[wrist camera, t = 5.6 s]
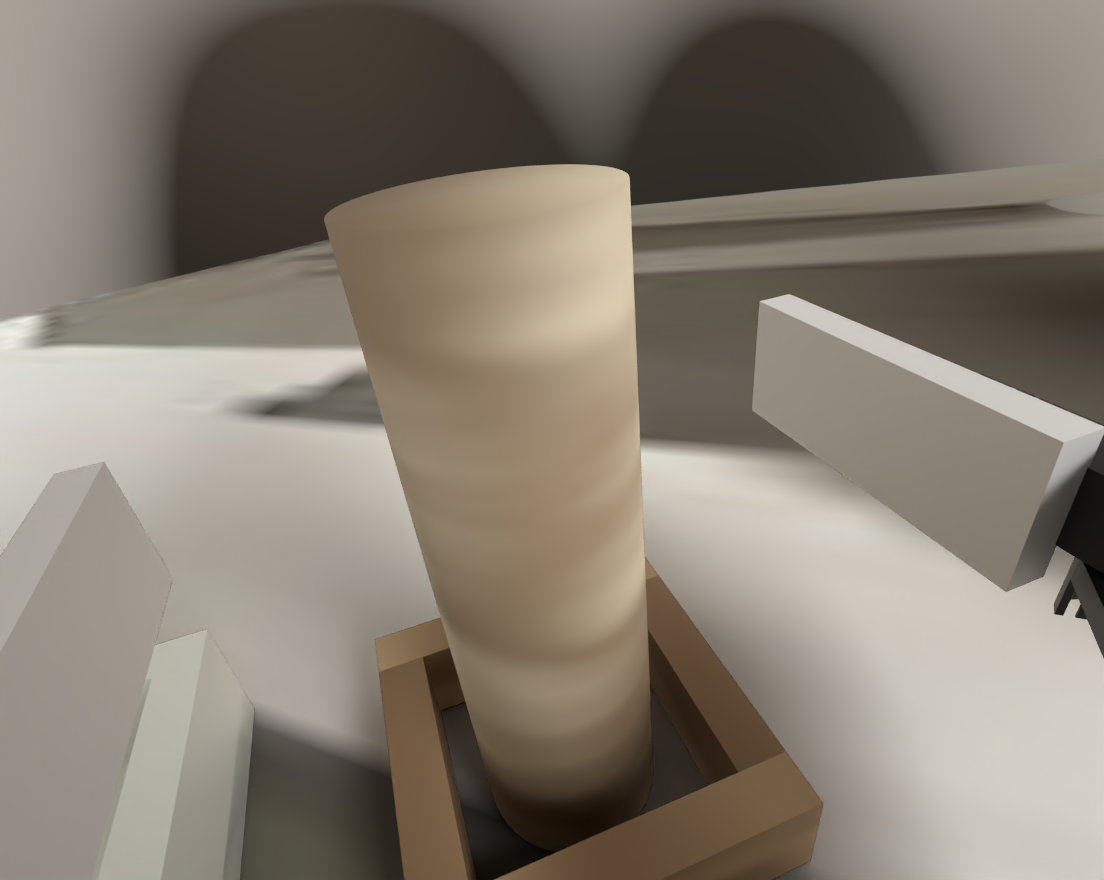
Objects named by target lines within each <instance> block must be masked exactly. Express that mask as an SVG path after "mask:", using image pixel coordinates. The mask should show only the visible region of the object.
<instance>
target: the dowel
mask: <svg viewBox="0 0 1104 880" xmlns="http://www.w3.org/2000/svg"><path fill="white" fill-rule="evenodd" d="M629 179H630V178H629V175H628V174H627V173H625V172H624V171H622V170H618V169H616V168H610V167H604V166H595V165H539V166H524V167H512V168H502V169H493V170H485V171H477V172H470V173H463V174H457V175H451V176H445V177H439V178H433V179H428V180H424V181H418V182H414V183H409V184H405V185H401V186H397V187H393V188H388V189H385V190H381V191H378V192H374V193H371V194H368V195H365V196H362V197H359V198H356V199H354V200H351V201H348V202H346V203H344V204H341V205H339V206H338V207H336V208H334V209H332V210H331V211H330V212H328V213H327V215H326V216H325V218H324V221H325V224H326V228H327V231H328V235H329V238H330V242H331V245H332V249H333V252H334V255H335V259H336V262H337V266H338V269H339V272H340V276H341V279H342V283H343V286H344V289H345V293H346V296H347V300H348V303H349V306H350V310H351V313H352V317H353V320H354V323H355V327H356V330H357V334H358V337H359V341H360V344H361V347H362V351H363V354H364V358H365V361H366V364H367V368H368V371H369V375H370V378H371V381H372V385H373V388H374V392H375V395H376V398H377V402H378V405H379V409H380V412H381V415H382V419H383V422H384V426H385V429H386V432H387V436H388V439H389V443H390V446H391V449H392V453H393V456H394V460H395V463H396V466H397V470H398V473H399V477H400V480H401V484H402V487H403V490H404V494H405V497H406V501H407V504H408V507H409V511H410V514H411V518H412V521H413V524H414V528H415V531H416V535H417V538H418V541H419V545H420V548H421V552H422V555H423V558H424V562H425V565H426V569H427V572H428V575H429V579H430V582H431V586H432V589H433V592H434V596H435V599H436V603H437V606H438V609H439V613H440V616H441V620H442V623H443V627H444V630H445V633H446V637H447V640H448V644H449V647H450V650H451V654H452V657H453V661H454V664H455V667H456V671H457V674H458V678H459V681H460V684H461V688H462V691H463V695H464V698H465V701H466V705H467V708H468V712H469V715H470V718H471V722H472V725H473V729H474V732H475V735H476V739H477V742H478V746H479V749H480V752H481V756H482V759H483V763H484V766H485V770H486V773H487V776H488V780H489V783H490V787H491V790H492V793H493V797H494V800H495V802H496V805H497V808H498V809H499V811H500V813H501V815H502V817H503V818H504V820H505V821H506V823H507V824H508V825H509V826H510V827H511V828H512V829H513V830H514V832H515V833H517V834H518V835H519V836H520V837H522V838H523V839H524V840H526V841H528V842H530V843H531V844H533V845H535V846H538V847H540V848H543V849H545V850H550V851H554V852H558V851H561V850H563V849H565V848H567V847H570V846H572V845H574V844H577V843H579V842H581V841H583V840H586V839H588V838H590V837H593V836H595V835H597V834H599V833H602V832H604V831H606V830H608V829H611V828H613V827H615V826H618V825H620V824H622V823H624V822H627V821H629V820H631V819H634V818H636V817H638V816H639V815H640V813H641V812H642V810H643V808H644V806H645V804H646V802H647V799H648V797H649V794H650V790H651V786H652V780H653V750H652V725H651V700H650V675H649V650H648V625H647V601H646V576H645V551H644V526H643V501H642V476H641V452H640V427H639V402H638V377H637V352H636V327H635V303H634V278H633V253H632V228H631V204H630V180H629Z"/></svg>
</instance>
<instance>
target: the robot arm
mask: <svg viewBox="0 0 1104 880" xmlns="http://www.w3.org/2000/svg"><path fill="white" fill-rule="evenodd" d="M752 410H753V411H754V412H756V413H757V414H758V415H760V416H761V417H762V418H764V419H765V420H767V421H768V422H769V423H771V424H772V425H774V426H775V427H776V428H778V429H779V430H781V431H782V432H783V433H785V434H786V435H788V436H789V437H790V438H792V439H793V440H795V441H796V442H797V443H799V444H800V445H802V446H803V447H804V448H806V449H807V450H809V451H810V452H811V453H813V454H814V455H816V456H817V457H818V458H820V459H821V460H823V461H824V462H825V463H827V464H828V465H830V466H831V467H832V468H834V469H835V470H837V471H838V472H839V473H841V474H842V475H844V476H845V477H846V478H848V479H849V480H851V481H852V482H853V483H855V484H856V485H858V486H859V487H860V488H862V489H863V490H864V491H866V492H867V493H869V494H870V495H871V496H873V497H874V498H876V499H877V500H878V501H880V502H881V503H883V504H884V505H885V506H887V507H888V508H890V509H891V510H892V511H894V512H895V513H897V514H898V515H899V516H901V517H902V518H904V519H905V520H906V521H908V522H909V523H911V524H912V525H913V526H915V527H916V528H918V529H919V530H920V531H922V532H923V533H925V534H926V535H927V536H929V537H930V538H932V539H933V540H934V541H936V542H937V543H939V544H940V545H941V546H943V547H944V548H946V549H947V550H948V551H950V552H951V553H953V554H954V555H955V556H957V557H958V558H960V559H961V560H962V561H964V562H965V563H967V564H968V565H969V566H971V567H972V568H973V569H975V570H976V571H978V572H979V573H980V574H982V575H983V576H985V577H986V578H987V579H989V580H990V581H992V582H993V583H994V584H996V585H997V586H999V587H1000V588H1001V589H1003V590H1004V591H1006V592H1007V591H1009V590H1012V589H1014V588H1017V587H1019V586H1022V585H1024V584H1026V583H1029V582H1031V581H1034V580H1036V579H1039V578H1041V577H1043V576H1044V574H1045V572H1046V569H1047V567H1048V564H1049V562H1050V560H1051V557H1052V555H1053V553H1054V550H1055V548H1056V546H1058V547H1060V548H1061V549H1063V550H1065V551H1066V552H1068V553H1070V554H1071V555H1073V556H1075V558H1074V561H1073V563H1072V565H1071V567H1070V569H1069V572H1068V574H1067V576H1066V578H1065V581H1064V583H1063V585H1062V587H1061V589H1060V592H1059V594H1058V596H1057V598H1056V601H1055V603H1054V614H1057V615H1064V612H1065V610H1066V608H1067V606H1068V604H1069V602H1070V600H1072V599H1079V601H1080V603H1081V605H1080V607H1079V609H1078V611H1077V613H1076V615H1075V617H1076V618H1081V619H1087V620H1088V622H1089V625H1090V627H1091V629H1092V632H1093V634H1094V636H1095V639H1096V641H1097V644H1098V646H1099V648H1100V651H1101V653H1102V655H1103V658H1104V425H1102V424H1100V423H1097V422H1095V421H1093V420H1090V419H1088V418H1086V417H1083V416H1081V415H1078V414H1076V413H1074V412H1071V411H1069V410H1066V409H1064V408H1062V407H1059V406H1057V405H1054V404H1052V403H1050V402H1047V401H1045V400H1043V399H1037V398H1035V397H1034V396H1033V395H1031V394H1028V393H1026V392H1023V391H1021V390H1019V389H1013V388H1011V386H1009V385H1007V384H1004V383H1002V382H1000V381H997V380H995V379H992V378H990V377H988V376H985V375H983V374H979V373H975V372H973V371H971V370H968V369H966V368H964V367H961V366H959V365H956V364H954V363H952V362H949V361H947V360H945V359H942V358H940V357H937V356H935V355H933V354H930V353H928V352H925V351H923V350H921V349H918V348H916V347H914V346H911V345H909V344H906V343H904V342H902V341H899V340H897V339H895V338H892V337H890V336H887V335H885V334H883V333H880V332H878V331H876V330H873V329H871V328H868V327H866V326H864V325H861V324H859V323H857V322H854V321H852V320H849V319H847V318H845V317H842V316H840V315H838V314H835V313H833V312H830V311H828V310H826V309H823V308H821V307H819V306H816V305H814V304H811V303H809V302H807V301H804V300H802V299H800V298H797V297H795V296H792V295H790V294H788V295H784V296H780V297H775V298H771V299H767V300H763V301H760V304H759V318H758V332H757V347H756V361H755V375H754V390H753V404H752ZM172 581H173V577H172V575H171V574H170V572H169V570H168V569H167V567H166V565H165V564H164V562H163V560H162V559H161V557H160V555H159V553H158V552H157V550H156V548H155V547H154V545H153V543H152V542H151V540H150V538H149V537H148V535H147V533H146V532H145V530H144V528H143V527H142V525H141V523H140V522H139V520H138V518H137V516H136V515H135V513H134V511H133V510H132V508H131V506H130V505H129V503H128V501H127V500H126V498H125V496H124V495H123V493H122V491H121V490H120V488H119V486H118V484H117V483H116V481H115V479H114V478H113V476H112V474H111V473H110V471H109V469H108V468H107V466H106V464H105V463H104V462H102V463H98V464H93V465H89V466H85V467H81V468H77V469H73V470H69V471H65V472H61V473H57V474H54V475H53V477H52V478H51V480H50V481H49V483H48V484H47V486H46V487H45V489H44V490H43V492H42V494H41V495H40V497H39V498H38V500H37V501H36V503H35V504H34V506H33V507H32V509H31V510H30V512H29V513H28V515H27V516H26V518H25V519H24V521H23V522H22V524H21V525H20V527H19V529H18V530H17V532H16V533H15V535H14V536H13V538H12V539H11V541H10V542H9V544H8V545H7V547H6V548H5V550H4V551H3V553H2V554H1V556H0V880H91V877H92V873H93V870H94V866H95V862H96V859H97V855H98V851H99V848H100V844H101V840H102V837H103V833H104V829H105V826H106V822H107V818H108V815H109V811H110V807H111V804H112V800H113V796H114V793H115V789H116V785H117V782H118V778H119V774H120V771H121V767H122V763H123V760H124V756H125V753H126V749H127V745H128V742H129V738H130V734H131V731H132V727H133V723H134V720H135V716H136V712H137V709H138V705H139V701H140V698H141V694H142V690H143V687H144V683H145V679H146V676H147V672H148V668H149V665H150V661H151V657H152V654H153V650H154V646H155V643H156V639H157V635H158V632H159V628H160V624H161V621H162V617H163V613H164V610H165V606H166V602H167V599H168V595H169V591H170V588H171V584H172Z"/></svg>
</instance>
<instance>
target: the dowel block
mask: <svg viewBox="0 0 1104 880" xmlns="http://www.w3.org/2000/svg"><path fill="white" fill-rule="evenodd" d="M645 576H646V601H647V625H648V650H649V675H650V685H651V687H652V689H653V690H654V692H655V694H656V696H657V697H658V699H659V701H660V702H661V704H662V706H663V708H664V709H665V711H666V713H667V715H668V716H669V718H670V720H671V722H672V723H673V725H674V727H675V728H676V730H677V732H678V734H679V735H680V737H681V739H682V741H683V742H684V744H685V746H686V748H687V749H688V751H689V753H690V755H691V756H692V758H693V760H694V761H695V763H696V765H697V767H698V768H699V770H700V772H701V774H702V775H703V777H704V779H705V781H706V782H707V784H708V786H706V787H704V788H702V789H700V790H697V791H695V792H693V793H691V794H688V795H686V796H684V797H681V798H679V799H677V800H675V801H672V802H670V803H668V804H665V805H663V806H661V807H659V808H656V809H654V810H652V811H649V812H647V813H645V814H643V815H640V816H638V817H636V818H634V819H631V820H629V821H627V822H624V823H622V824H620V825H618V826H615V827H613V828H611V829H608V830H606V831H604V832H602V833H599V834H597V835H595V836H593V837H590V838H588V839H586V840H583V841H581V842H579V843H577V844H574V845H572V846H570V847H567V848H565V849H563V850H561V851H558V852H556V853H554V854H552V855H549V856H547V857H545V858H542V859H540V860H538V861H536V862H533V863H531V864H529V865H526V866H524V867H522V868H520V869H517V870H515V871H513V872H511V873H508V874H506V875H504V876H501V877H499V878H497V879H495V880H772V879H774V878H776V877H778V876H780V875H782V874H784V873H786V872H788V871H790V870H792V869H794V868H796V867H798V866H800V865H802V864H804V863H806V862H808V861H810V860H811V856H812V851H813V847H814V843H815V838H816V834H817V829H818V825H819V821H820V816H821V812H822V807H823V802H822V801H821V799H820V798H819V797H818V795H817V794H816V792H815V791H814V790H813V788H812V787H811V785H810V784H809V783H808V781H807V780H806V779H805V777H804V776H803V774H802V773H801V772H800V770H799V769H798V768H797V766H796V765H795V763H794V762H793V761H792V759H791V758H790V756H789V755H788V754H787V752H786V751H785V750H784V748H783V747H782V745H781V744H780V743H779V741H778V740H777V739H776V737H775V736H774V734H773V733H772V732H771V730H770V729H769V727H768V726H767V725H766V723H765V722H764V721H763V719H762V718H761V716H760V715H759V714H758V712H757V711H756V709H755V708H754V707H753V705H752V704H751V703H750V701H749V700H748V698H747V697H746V696H745V694H744V693H743V692H742V690H741V689H740V687H739V686H738V685H737V683H736V682H735V680H734V679H733V678H732V676H731V675H730V674H729V672H728V671H727V669H726V668H725V667H724V665H723V664H722V662H721V661H720V660H719V658H718V657H717V656H716V654H715V653H714V651H713V650H712V649H711V647H710V646H709V645H708V643H707V642H706V640H705V639H704V638H703V636H702V635H701V633H700V632H699V631H698V629H697V628H696V627H695V625H694V624H693V622H692V621H691V620H690V618H689V617H688V616H687V614H686V613H685V611H684V610H683V609H682V607H681V606H680V604H679V603H678V602H677V600H676V599H675V598H674V596H673V595H672V593H671V592H670V591H669V589H668V588H667V586H666V585H665V584H664V582H663V581H662V580H661V578H660V577H659V575H658V574H657V573H656V571H655V570H654V569H653V567H652V566H651V564H650V563H649V562H648V560H647V559H646V557H645ZM375 644H376V652H377V660H378V669H379V677H380V685H381V693H382V701H383V710H384V718H385V726H386V734H387V742H388V750H389V759H390V767H391V775H392V783H393V791H394V799H395V808H396V816H397V824H398V832H399V840H400V849H401V857H402V865H403V873H404V880H477V879H476V874H475V869H474V865H473V860H472V855H471V851H470V846H469V841H468V837H467V832H466V827H465V823H464V818H463V813H462V809H461V804H460V799H459V795H458V790H457V785H456V780H455V776H454V771H453V766H452V762H451V757H450V752H449V748H448V743H447V738H446V734H445V729H444V724H443V720H442V715H441V710H443V709H446V708H449V707H452V706H454V705H457V704H460V703H462V702H465V698H464V695H463V691H462V688H461V684H460V681H459V678H458V674H457V671H456V667H455V664H454V661H453V657H452V654H451V650H450V647H449V644H448V640H447V637H446V633H445V630H444V627H443V623H442V620H441V618H438V619H435V620H432V621H429V622H426V623H423V624H420V625H417V626H414V627H411V628H408V629H405V630H402V631H399V632H396V633H393V634H390V635H387V636H384V637H381V638H378V639H375Z"/></svg>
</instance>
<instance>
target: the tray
mask: <svg viewBox="0 0 1104 880" xmlns="http://www.w3.org/2000/svg"><path fill="white" fill-rule="evenodd" d="M254 710H255V709H254V707H253V705H252V704H251V702H250V700H249V699H248V697H247V695H246V694H245V692H244V690H243V688H242V687H241V685H240V683H239V682H238V680H237V678H236V677H235V675H234V673H233V671H232V670H231V668H230V666H229V665H228V663H227V661H226V660H225V658H224V656H223V654H222V653H221V651H220V649H219V648H218V646H217V644H216V643H215V641H214V639H213V637H212V636H211V634H210V632H209V631H208V629H206V630H202V631H199V632H196V633H193V634H189V635H186V636H183V637H180V638H177V639H173V640H170V641H167V642H164V643H160V644H157V645H155V646H154V650H153V654H152V657H151V661H150V665H149V668H148V672H147V676H146V679H145V683H144V687H143V690H142V694H141V698H140V701H139V705H138V709H137V712H136V716H135V720H134V723H133V727H132V731H131V734H130V738H129V742H128V745H127V749H126V753H125V756H124V760H123V763H122V767H121V771H120V774H119V778H118V782H117V785H116V789H115V793H114V796H113V800H112V804H111V807H110V811H109V815H108V818H107V822H106V826H105V829H104V833H103V837H102V840H101V844H100V848H99V851H98V855H97V859H96V862H95V866H94V870H93V873H92V877H91V880H240V873H241V861H242V850H243V838H244V827H245V815H246V803H247V792H248V780H249V768H250V757H251V745H252V734H253V722H254Z"/></svg>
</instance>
